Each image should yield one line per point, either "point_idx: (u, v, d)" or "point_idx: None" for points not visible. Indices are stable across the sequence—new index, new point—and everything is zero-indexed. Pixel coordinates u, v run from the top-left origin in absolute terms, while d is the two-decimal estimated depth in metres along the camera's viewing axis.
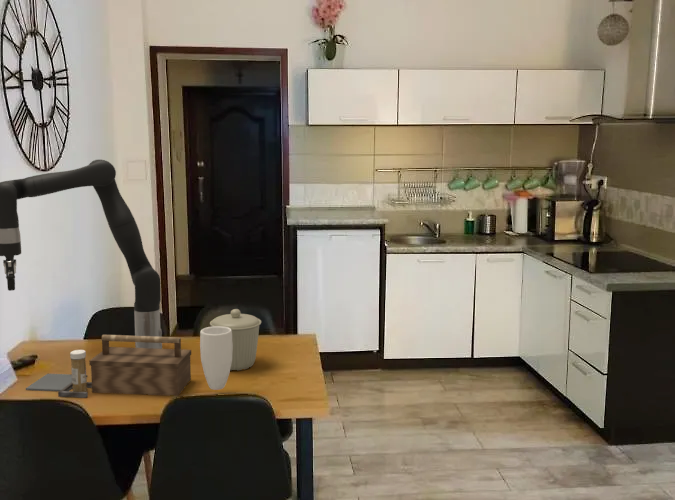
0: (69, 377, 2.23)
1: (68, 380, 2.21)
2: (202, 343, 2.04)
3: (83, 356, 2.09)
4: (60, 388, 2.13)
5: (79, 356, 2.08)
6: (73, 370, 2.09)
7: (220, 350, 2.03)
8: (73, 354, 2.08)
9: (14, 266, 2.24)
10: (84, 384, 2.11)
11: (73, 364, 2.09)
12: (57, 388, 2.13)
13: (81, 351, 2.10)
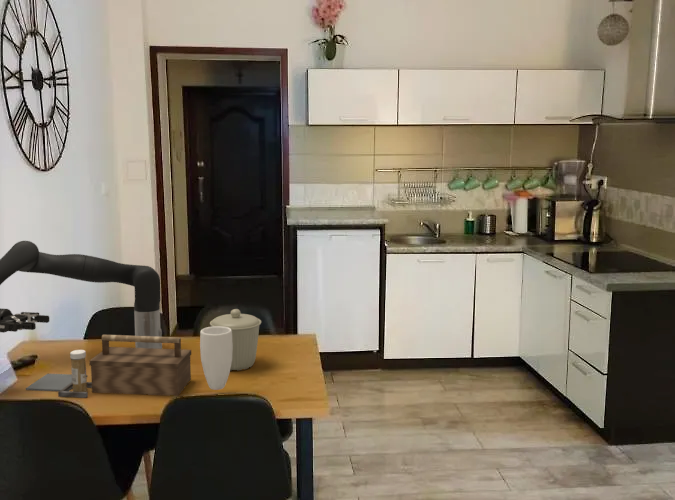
0: (69, 377, 2.23)
1: (68, 380, 2.21)
2: (202, 343, 2.04)
3: (83, 356, 2.09)
4: (60, 388, 2.13)
5: (79, 356, 2.08)
6: (73, 370, 2.09)
7: (220, 350, 2.03)
8: (73, 354, 2.08)
9: (12, 319, 2.07)
10: (84, 384, 2.11)
11: (73, 364, 2.09)
12: (57, 388, 2.13)
13: (81, 351, 2.10)
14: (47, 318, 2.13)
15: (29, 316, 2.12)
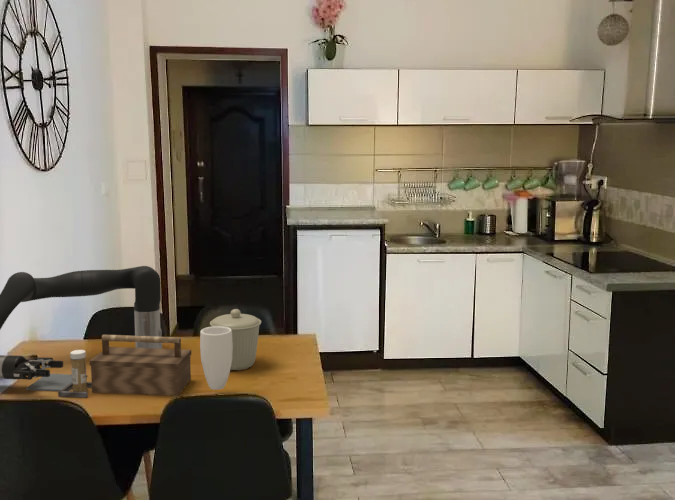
0: (69, 377, 2.23)
1: (68, 380, 2.21)
2: (202, 343, 2.04)
3: (83, 356, 2.09)
4: (60, 388, 2.13)
5: (79, 356, 2.08)
6: (73, 370, 2.09)
7: (220, 350, 2.03)
8: (73, 354, 2.08)
9: (27, 366, 2.09)
10: (84, 384, 2.11)
11: (73, 364, 2.09)
12: (57, 388, 2.13)
13: (81, 351, 2.10)
14: (61, 363, 2.15)
15: (43, 362, 2.15)
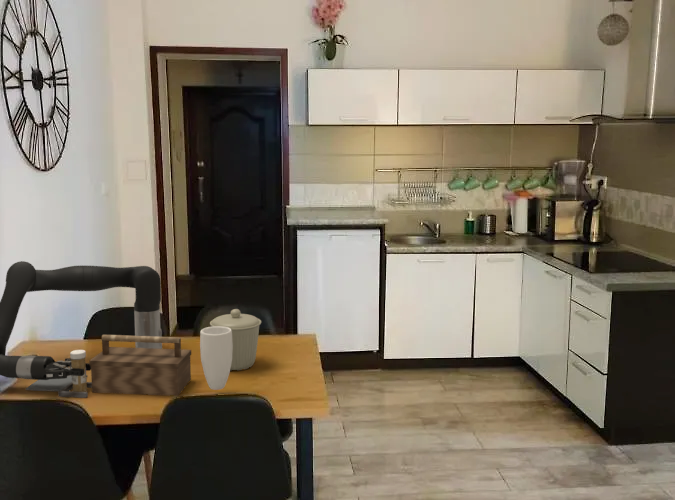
0: (69, 377, 2.23)
1: (68, 380, 2.21)
2: (202, 343, 2.04)
3: (83, 356, 2.09)
4: (60, 388, 2.13)
5: (79, 356, 2.08)
6: None
7: (220, 350, 2.03)
8: (73, 354, 2.08)
9: (58, 367, 2.09)
10: (84, 384, 2.11)
11: (73, 364, 2.09)
12: (57, 388, 2.13)
13: (81, 351, 2.10)
14: (89, 366, 2.13)
15: (70, 364, 2.13)
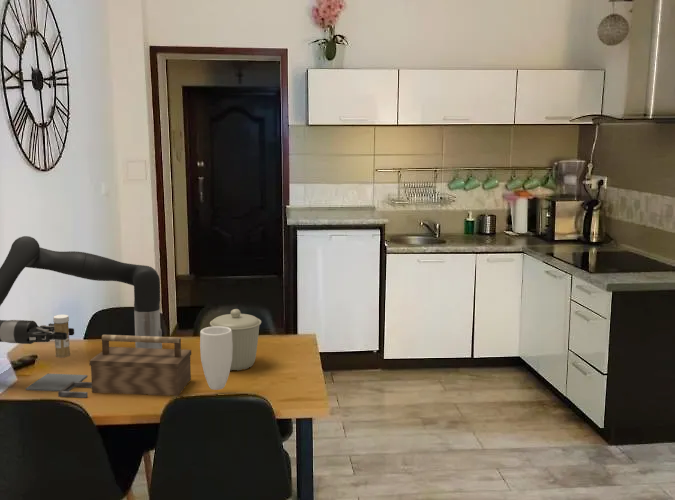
0: (69, 377, 2.23)
1: (68, 380, 2.21)
2: (202, 343, 2.04)
3: (66, 320, 2.13)
4: (60, 388, 2.13)
5: (62, 320, 2.11)
6: None
7: (220, 350, 2.03)
8: (56, 318, 2.11)
9: (41, 330, 2.12)
10: (67, 348, 2.14)
11: (56, 328, 2.12)
12: (57, 388, 2.13)
13: (64, 316, 2.13)
14: (72, 331, 2.16)
15: (53, 328, 2.16)
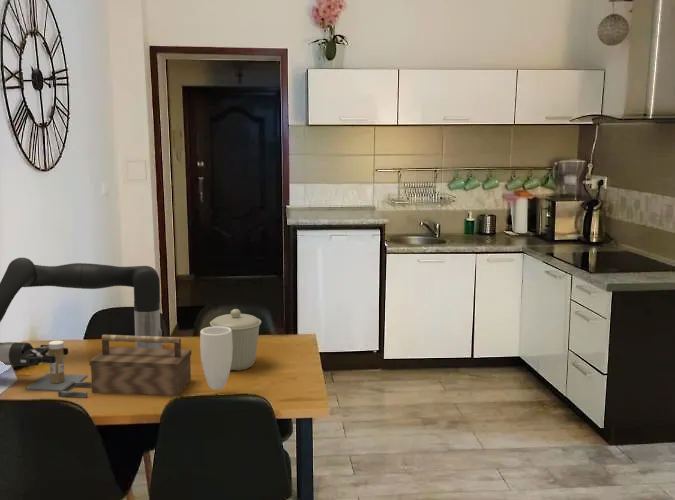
0: (69, 377, 2.23)
1: (68, 380, 2.21)
2: (202, 343, 2.04)
3: (61, 347, 2.17)
4: (60, 388, 2.13)
5: (57, 346, 2.15)
6: None
7: (220, 350, 2.03)
8: (51, 344, 2.15)
9: (33, 353, 2.15)
10: (61, 374, 2.18)
11: (51, 354, 2.16)
12: (57, 388, 2.13)
13: (59, 342, 2.17)
14: (66, 350, 2.21)
15: None
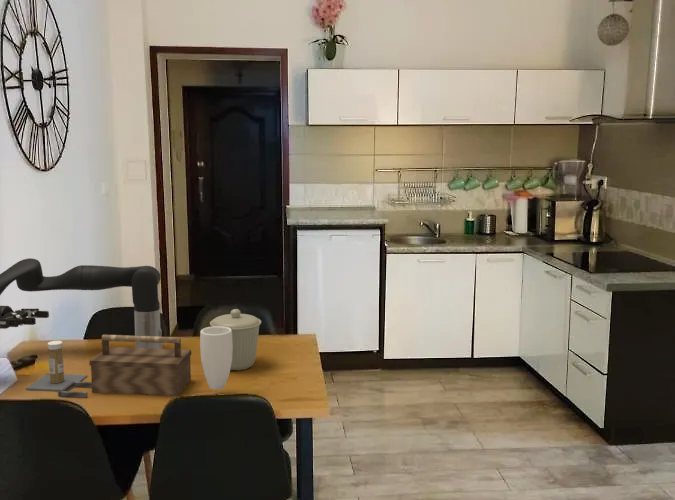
0: (69, 377, 2.23)
1: (68, 380, 2.21)
2: (202, 343, 2.04)
3: (60, 347, 2.16)
4: (60, 388, 2.13)
5: (56, 346, 2.15)
6: (50, 360, 2.16)
7: (220, 350, 2.03)
8: (50, 345, 2.15)
9: (13, 315, 2.15)
10: (61, 374, 2.18)
11: (50, 354, 2.16)
12: (57, 388, 2.13)
13: (58, 342, 2.17)
14: (46, 313, 2.21)
15: (29, 312, 2.20)
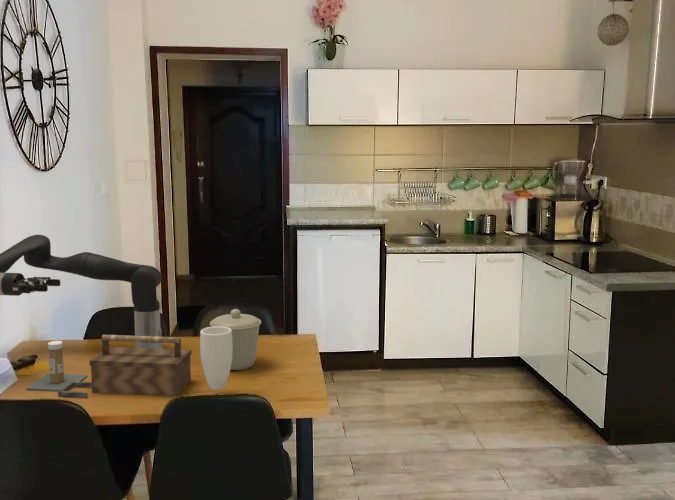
0: (69, 377, 2.23)
1: (68, 380, 2.21)
2: (202, 343, 2.04)
3: (60, 347, 2.16)
4: (60, 388, 2.13)
5: (56, 346, 2.15)
6: (50, 360, 2.16)
7: (220, 350, 2.03)
8: (50, 345, 2.15)
9: (25, 282, 2.17)
10: (61, 374, 2.18)
11: (50, 354, 2.16)
12: (57, 388, 2.13)
13: (58, 342, 2.17)
14: (58, 282, 2.23)
15: (41, 280, 2.22)
